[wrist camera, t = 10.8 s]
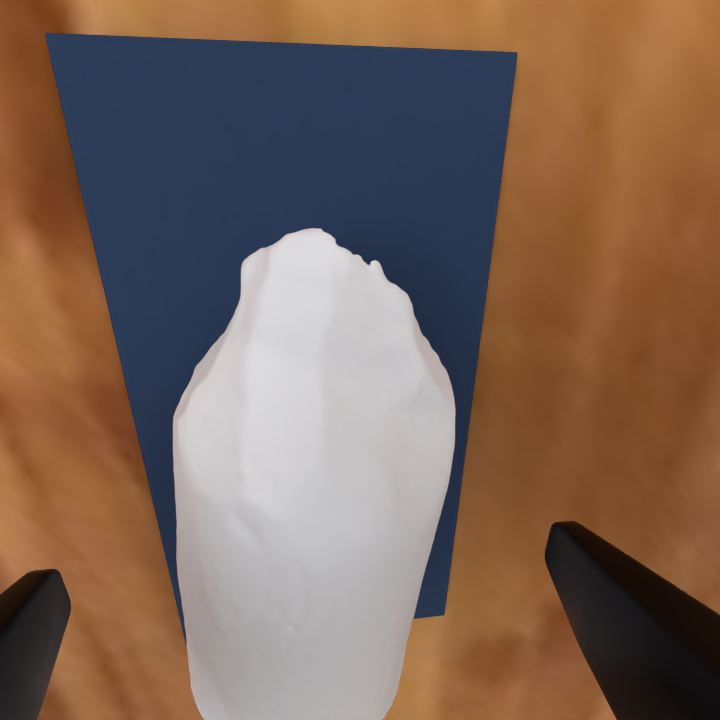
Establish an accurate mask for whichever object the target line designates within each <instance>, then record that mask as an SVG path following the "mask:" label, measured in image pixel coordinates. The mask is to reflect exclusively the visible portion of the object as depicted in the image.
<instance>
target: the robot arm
mask: <svg viewBox="0 0 720 720" xmlns="http://www.w3.org/2000/svg"><path fill="white" fill-rule="evenodd" d="M545 561H546V565H547V568H548V570H549V573H550V575H551V578H552V580H553V583H554V585H555V588H556V590H557V593H558V595H559V598H560V600H561V603H562V605H563V608H564V610H565V613H566V615H567V618H568V620H569V623H570V625H571V628H572V630H573V633H574V635H575V637H576V639H577V642H578V644H579V646H580V648H581V650H582V653H583V655H584V657H585V659H586V661H587V663H588V665H589V667H590V668H591V670H592V672H593V674H594V676H595V678H596V680H597V682H598V684H599V686H600V688H601V690H602V692H603V694H604V696H605V698H606V700H607V702H608V704H609V706H610V707H611V709H612V711H613V713H614V715H615V717H616V719H617V720H720V615H719V614H718V613H716V612H715V611H713V610H712V609H710V608H709V607H707V606H705V605H704V604H702V603H701V602H699V601H698V600H696V599H695V598H693V597H692V596H690V595H688V594H687V593H685V592H684V591H682V590H681V589H679V588H678V587H676V586H675V585H673V584H672V583H670V582H668V581H667V580H665V579H664V578H662V577H661V576H659V575H658V574H656V573H655V572H653V571H652V570H650V569H648V568H647V567H645V566H644V565H642V564H641V563H639V562H638V561H636V560H635V559H633V558H632V557H630V556H628V555H627V554H625V553H624V552H622V551H621V550H619V549H618V548H616V547H615V546H613V545H611V544H610V543H608V542H607V541H605V540H604V539H602V538H601V537H599V536H598V535H596V534H595V533H593V532H591V531H590V530H588V529H587V528H585V527H584V526H582V525H581V524H579V523H577V522H575V521H562V522H555V523H554V524H553V525H552V526H551V529H550V533H549V537H548V542H547V546H546V550H545ZM70 610H71V602H70V598H69V595H68V593H67V590H66V587H65V585H64V582H63V579H62V577H61V574H60V572H59V571H58V570H56V569H46V570H35V571H31V572H29V573H27V574H25V575H24V576H23V577H21V578H20V579H19V580H18V581H16V582H15V583H14V584H13V585H11V586H10V587H9V588H8V589H7V590H5V591H4V592H3V593H2V594H0V720H37V718H38V715H39V712H40V709H41V706H42V703H43V700H44V697H45V694H46V691H47V687H48V684H49V681H50V678H51V674H52V671H53V668H54V665H55V661H56V658H57V655H58V652H59V648H60V645H61V642H62V639H63V635H64V632H65V629H66V626H67V622H68V619H69V616H70Z"/></svg>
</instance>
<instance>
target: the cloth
mask: <svg viewBox="0 0 720 720" xmlns="http://www.w3.org/2000/svg"><path fill="white" fill-rule="evenodd" d="M45 36H46V41H47V45H48V49H49V54H50V58H51V62H52V67H53V71H54V75H55V80H56V84H57V88H58V93H59V97H60V101H61V106H62V110H63V114H64V119H65V123H66V127H67V132H68V136H69V140H70V145H71V149H72V153H73V158H74V162H75V166H76V171H77V175H78V179H79V184H80V188H81V192H82V197H83V201H84V205H85V209H86V214H87V218H88V222H89V227H90V231H91V235H92V240H93V244H94V248H95V253H96V257H97V261H98V266H99V270H100V274H101V279H102V283H103V287H104V292H105V296H106V300H107V305H108V309H109V313H110V318H111V322H112V326H113V331H114V335H115V339H116V344H117V348H118V352H119V357H120V361H121V365H122V370H123V374H124V378H125V383H126V387H127V391H128V396H129V400H130V404H131V409H132V413H133V417H134V422H135V426H136V430H137V434H138V439H139V443H140V447H141V452H142V456H143V460H144V465H145V469H146V473H147V478H148V482H149V486H150V491H151V495H152V499H153V504H154V508H155V512H156V517H157V521H158V525H159V530H160V534H161V538H162V543H163V547H164V551H165V556H166V560H167V564H168V569H169V573H170V577H171V582H172V586H173V590H174V595H175V599H176V603H177V608H178V612H179V616H180V621H181V625H182V629H183V634H184V638H185V642H186V645H187V641H186V630H185V623H184V615H183V609H182V601H181V594H180V588H179V581H178V575H177V561H176V553H177V550H176V547H177V535H176V528H177V519H176V501H175V481H174V471H173V465H174V461H173V417H174V414H175V411H176V408H177V406H178V404H179V402H180V399H181V397H182V395H183V393H184V391H185V389H186V388H187V386H188V384H189V382H190V380H191V378H192V376H193V373H194V369H195V367H196V365H197V364H198V363H199V362H200V361H201V360H202V359H203V358H204V356H205V355H206V354H207V352H208V350H209V349H210V348H211V346H212V345H213V344H214V343H215V342H216V341H217V340H218V338H219V337H220V336H221V335H222V334H223V333H225V331H226V329H227V327H228V324H229V322H230V321H231V319H232V317H233V316H234V313H235V310H236V308H237V306H238V303H239V301H240V295H241V266H242V263H243V261H244V260H245V259H246V258H247V257H248V256H250V255H251V254H253V253H255V252H256V251H258V250H259V249H261V248H266V247H268V246H270V245H273V244H275V243H276V242H278V241H279V240H281V239H282V238H283V237H284V236H285V235H286V234H290V233H295V232H298V231H301V230H304V229H310V228H317V229H322V230H323V231H324V232H326V233H328V234H330V235H331V236H332V237H333V238H335V240H336V244H337V245H338V246H340V247H343V248H345V249H347V250H349V251H350V252H351V253H352V254H353V255H359V256H361V257H362V260H363V261H364V262H365V263H366V264H367V265H370V264H371V261H374V260H376V261H378V262H379V263H380V265H381V267H382V270H383V272H384V275H385V277H386V278H387V280H388V281H389V282H391V283H393V284H395V285H397V286H398V287H399V288H400V289H402V290H403V291H404V292H406V293H407V294H408V296H409V298H410V301H411V303H412V305H413V312H414V316H415V318H416V320H417V322H418V324H419V328H420V331H421V333H422V335H423V336H424V337H425V338H426V339H427V340H428V341H429V344H430V346H431V348H432V349H433V350H434V351H435V352H436V353H437V355H438V356H439V359H440V362H441V364H442V365H443V366H444V368H445V369H446V371H447V373H448V376H449V379H450V382H451V386H452V390H453V395H454V401H455V411H456V415H455V447H454V453H453V460H452V467H451V473H450V478H449V484H448V488H447V492H446V495H445V499H444V503H443V507H442V511H441V515H440V518H439V521H438V525H437V529H436V532H435V537H434V541H433V544H432V548H431V552H430V555H429V558H428V562H427V565H426V569H425V573H424V576H423V580H422V584H421V588H420V593H419V597H418V601H417V606H416V610H415V613H414V618H413V619H415V618H424V617H433V616H441V615H444V613H445V606H446V598H447V590H448V583H449V575H450V567H451V560H452V552H453V544H454V537H455V529H456V521H457V514H458V506H459V498H460V491H461V483H462V475H463V468H464V460H465V452H466V445H467V437H468V429H469V422H470V414H471V406H472V399H473V391H474V383H475V376H476V368H477V360H478V353H479V345H480V337H481V330H482V322H483V314H484V307H485V299H486V291H487V284H488V276H489V268H490V261H491V253H492V245H493V238H494V230H495V222H496V215H497V207H498V199H499V192H500V184H501V176H502V169H503V161H504V153H505V146H506V138H507V130H508V123H509V115H510V107H511V100H512V92H513V84H514V77H515V69H516V61H517V53H516V52H496V51H471V50H447V49H423V48H398V47H374V46H350V45H325V44H301V43H277V42H253V41H228V40H204V39H180V38H155V37H131V36H107V35H82V34H58V33H46V34H45Z"/></svg>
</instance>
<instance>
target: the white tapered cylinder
mask: <svg viewBox="0 0 720 720" xmlns="http://www.w3.org/2000/svg"><path fill="white" fill-rule="evenodd" d="M455 415H456V411H455V401H454V395H453V390H452V386H451V382H450V379H449V376H448V373H447V371H446V369H445V368H444V366H443V365H442V364H441V362H440V359H439V356H438V355H437V353H436V352H435V351H434V350H433V349H432V348H431V346H430V344H429V341H428V340H427V339H426V338H425V337H424V336H423V335H422V333H421V331H420V328H419V324H418V322H417V320H416V318H415V316H414V312H413V305H412V303H411V301H410V298H409V296H408V294H407V293H406V292H404V291H403V290H402V289H400V288H399V287H398V286H397V285H395V284H393V283H391V282H389V281H388V280H387V278H386V277H385V275H384V272H383V270H382V267H381V265H380V263H379V262H378V261H376V260H374V261H371V264H370V265H367V264H366V263H365V262H364V261H363V260H362V257H361V256H359V255H353V254H352V253H351V252H350V251H349V250H347V249H345V248H343V247H340V246H338V245H337V244H336V240H335V238H333V237H332V236H331V235H330V234H328V233H326V232H324V231H323V230H322V229H317V228H310V229H304V230H301V231H298V232H295V233H290V234H286V235H285V236H284V237H283V238H282V239H281V240H279V241H278V242H276V243H275V244H273V245H270V246H268V247H266V248H261V249H259V250H258V251H256V252H255V253H253V254H251V255H250V256H248V257H247V258H246V259H245V260H244V261H243V263H242V266H241V295H240V301H239V303H238V306H237V308H236V310H235V313H234V316H233V317H232V319H231V321H230V322H229V324H228V327H227V329H226V331H225V333H223V334H222V335H221V336H220V337H219V338H218V340H217V341H216V342H215V343H214V344H213V345H212V346H211V348H210V349H209V350H208V352H207V354H206V355H205V356H204V358H203V359H202V360H201V361H200V362H199V363H198V364H197V365H196V367H195V369H194V373H193V376H192V378H191V380H190V382H189V384H188V386H187V388H186V389H185V391H184V393H183V395H182V397H181V399H180V402H179V404H178V406H177V408H176V411H175V414H174V417H173V461H174V465H173V471H174V481H175V501H176V519H177V528H176V535H177V547H176V550H177V553H176V561H177V575H178V581H179V588H180V594H181V601H182V609H183V615H184V623H185V630H186V641H187V653H188V666H189V672H190V678H191V690H192V693H193V696H194V699H195V702H196V705H197V707H198V710H199V712H200V714H201V716H202V717H203V719H204V720H383V719H384V717H385V715H386V713H387V712H388V710H389V709H390V707H391V705H392V703H393V700H394V698H395V696H396V693H397V689H398V684H399V680H400V677H401V673H402V668H403V661H404V656H405V651H406V645H407V641H408V637H409V634H410V630H411V624H412V621H413V618H414V613H415V610H416V606H417V601H418V597H419V593H420V588H421V584H422V580H423V576H424V573H425V569H426V565H427V562H428V558H429V555H430V552H431V548H432V544H433V541H434V537H435V532H436V529H437V525H438V521H439V518H440V515H441V511H442V507H443V503H444V499H445V495H446V492H447V488H448V484H449V478H450V473H451V467H452V460H453V453H454V447H455Z"/></svg>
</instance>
